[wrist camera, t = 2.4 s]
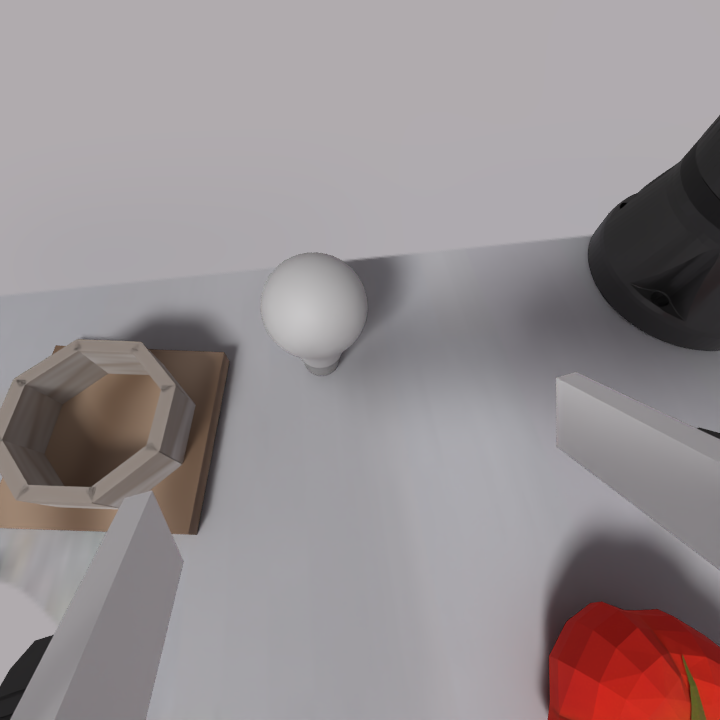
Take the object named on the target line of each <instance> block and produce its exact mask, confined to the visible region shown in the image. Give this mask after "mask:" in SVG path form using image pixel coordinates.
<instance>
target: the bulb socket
mask: <svg viewBox="0 0 720 720" xmlns="http://www.w3.org/2000/svg"><path fill="white" fill-rule="evenodd" d="M228 367H229V360H228V358H227V356H226V355H225V353H224V352H205V351H179V350H154V349H148V348H147V347H146V346H145V345H144V344H143V343H142V342H135V341H110V340H85V339H78V340H75V341H73V342H72V343H70V344H69V345H67V346H55V349H54V351H53V354H52V355H51V356H49V357H48V358H46V359H45V360H43V361H41V362H40V363H38V364H37V365H35V366H33V367H32V368H30V369H29V370H27V371H25V372H24V373H22V374H21V375H19V376H17V377H16V378H14V379H13V382H12V384H11V386H10V388H9V391H8V393H7V395H6V398H5V400H4V402H3V405H2V407H1V409H0V473H1V475H2V477H3V478H2V480H1V483H0V528H14V529H43V530H73V531H102V532H107V531H108V529H109V527H110V525H111V523H112V521H113V519H114V517H115V515H116V513H117V511H118V509H119V507H120V506H121V504H122V502H123V500H124V498H126V497H130V496H133V495H137V494H141V493H144V492H148V491H151V490H152V491H153V493H154V496H155V498H156V500H157V502H158V505H159V507H160V509H161V511H162V514H163V516H164V518H165V520H166V523H167V525H168V527H169V530H170V532H171V534H189V535H197V531H198V525H199V520H200V515H201V510H202V504H203V499H204V494H205V488H206V483H207V478H208V473H209V467H210V462H211V457H212V451H213V446H214V441H215V436H216V430H217V425H218V420H219V414H220V409H221V404H222V398H223V393H224V388H225V383H226V377H227V372H228Z"/></svg>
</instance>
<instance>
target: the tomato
mask: <svg viewBox="0 0 720 720" xmlns="http://www.w3.org/2000/svg"><path fill="white" fill-rule="evenodd" d="M549 676H550V704H549V713H548V720H720V647H719V646H718V645H716V644H715V643H714V642H713V641H711V640H710V639H709V638H707V637H706V636H705V635H703V634H701V633H700V632H698V631H696V630H695V629H693V628H692V627H690V626H688V625H687V624H685V623H683V622H682V621H680V620H679V619H677V618H675V617H674V616H672V615H669V614H667V613H665V612H663V611H660V610H658V609H652V610H623V609H620V608H617V607H615V606H612V605H609V604H607V603H604V602H595V603H590V604H589V605H587V606H586V607H585V608H583V609H582V610H581V611H579V612H578V613H577V614H576V615H574V616H573V617H572V618H570V619H569V620H568V621H566V623H565V625H564V627H563V629H562V631H561V633H560V635H559V637H558V639H557V641H556V643H555V645H554V647H553V649H552V651H551V653H550V655H549Z"/></svg>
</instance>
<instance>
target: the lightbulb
mask: <svg viewBox="0 0 720 720" xmlns="http://www.w3.org/2000/svg"><path fill="white" fill-rule="evenodd" d="M367 312H368V302H367V296H366V292H365V289H364V286H363V284H362V282H361V280H360V279H359V277H358V275H357V274H356V273H355V271H354V270H353V269H352V268H351V267H350V266H348V265H347V264H346V263H344V262H343V261H341V260H340V259H338V258H336V257H334V256H331V255H327V254H323V253H304V254H299V255H296V256H293V257H291V258H289V259H287V260H285V261H284V262H282V263H281V264H280V265H279V266H277V267H276V269H275V270H274V271H273V272H272V273H271V274H270V275H269V277H268V279H267V281H266V282H265V285H264V288H263V292H262V295H261V316H262V321H263V323H264V326H265V328H266V330H267V333H268V334H269V335H270V337H271V338H272V339H273V341H274V342H275V343H276V344H277V345H278V346H280V347H281V348H282V349H283V350H284V351H286V352H288V353H290V354H291V355H294V356H297V357H300V358H301V359H302V361H303V362H304V363H305V365H306V367H307V369H308V370H309V371H310V372H311V373H313V374H315V375H318V376H325V375H328V374H331V373H332V372H333V371H334V370H335V369H336V368H337V366H338V363H339V358H340V356H341V354H342V352H343V351H345V350H346V349H348V348H349V347H350V346H351V345H352V344H353V343H354V342H355V341H356V339H357V338H358V337H359V335H360V333H361V332H362V330H363V327H364V325H365V323H366V318H367Z"/></svg>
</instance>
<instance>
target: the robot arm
mask: <svg viewBox="0 0 720 720" xmlns="http://www.w3.org/2000/svg"><path fill="white" fill-rule="evenodd" d="M588 257H589V265H590V270H591V273H592V276H593V278H594V280H595V282H596V284H597V286H598V288H599V290H600V291H601V293H602V294H603V296H604V297H605V298H606V300H607V301H608V302H609V303H610V304H611V305H612V307H613V308H614V309H615V310H616V311H617V312H618V313H620V314H621V315H622V316H623V317H624V318H625V319H627V320H628V321H629V322H630V323H632V324H633V325H635V326H636V327H638V328H639V329H641V330H642V331H644V332H646V333H648V334H650V335H652V336H654V337H656V338H658V339H660V340H662V341H665V342H668V343H670V344H674V345H677V346H680V347H684V348H689V349H695V350H705V351H716V350H720V116H719V117H718V118H717V119H716V120H715V121H714V123H713V124H712V125H711V126H710V127H709V128H708V129H707V131H706V132H705V133H704V134H703V135H702V137H701V138H700V139H699V140H698V142H697V143H696V144H695V145H694V146H693V147H692V148H691V150H690V151H689V152H688V153H687V154H686V155H685V156H684V158H683V159H682V160H681V161H680V162H679V163H677V164H676V165H675V166H673V167H672V168H670V169H669V170H667V171H666V172H665V173H663V174H661V175H660V176H659V177H657V178H656V179H655V180H653V181H652V182H650V183H649V184H648V185H646V186H645V187H644V188H643V189H641V191H639V192H638V193H636V194H634V195H632V196H630V197H628V198H626V199H625V200H624V201H622V202H621V203H619V204H618V205H617V206H616V207H615V208H614V209H613V210H612V211H611V212H610V213H609V214H608V215H607V217H606V218H605V219H604V220H603V222H602V223H601V224H600V226H599V227H598V228H597V230H596V231H595V233H594V234H593V236H592V239H591V241H590V245H589V253H588ZM556 427H557V447H558V448H559V449H560V450H562V451H563V452H564V453H566V454H567V455H568V456H569V457H571V458H572V459H573V460H575V461H576V462H577V463H579V464H580V465H581V466H583V467H584V468H585V469H587V470H588V471H589V472H591V473H592V474H593V475H595V476H596V477H597V478H599V479H600V480H601V481H603V482H604V483H605V484H606V485H608V486H609V487H610V488H612V489H613V490H614V491H616V492H617V493H618V494H620V495H621V496H622V497H624V498H625V499H626V500H628V501H629V502H630V503H632V504H633V505H634V506H636V507H637V508H638V509H640V510H641V511H642V512H643V513H645V514H646V515H647V516H649V517H650V518H651V519H653V520H654V521H655V522H657V523H658V524H659V525H661V526H662V527H663V528H665V529H666V530H667V531H669V532H670V533H671V534H673V535H674V536H675V537H677V538H678V539H679V540H680V541H682V542H683V543H684V544H686V545H687V546H688V547H690V548H691V549H692V550H694V551H695V552H696V553H698V554H699V555H700V556H702V557H703V558H704V559H706V560H707V561H708V562H710V563H711V564H712V565H714V566H715V567H716V568H717V569H719V570H720V433H717V432H714V431H710V430H706V429H702V428H694V427H692V426H690V425H688V424H686V423H684V422H682V421H680V420H677V419H675V418H673V417H671V416H669V415H667V414H665V413H663V412H660V411H658V410H656V409H654V408H652V407H650V406H648V405H645V404H643V403H641V402H639V401H637V400H635V399H633V398H631V397H628V396H626V395H624V394H622V393H620V392H618V391H616V390H614V389H611V388H609V387H607V386H605V385H603V384H601V383H599V382H596V381H594V380H592V379H590V378H588V377H586V376H584V375H582V374H579V373H577V372H574V373H570V374H567V375H563V376H560V377H556ZM183 562H184V561H183V559H182V557H181V554H180V552H179V550H178V548H177V545H176V543H175V541H174V539H173V536H172V534H171V532H170V530H169V527H168V525H167V523H166V520H165V518H164V516H163V514H162V511H161V509H160V507H159V505H158V502H157V500H156V498H155V496H154V493H153V491H152V490H151V491H148V492H144V493H141V494H137V495H133V496H130V497H126V498H124V500H123V502H122V504H121V506H120V507H119V509H118V511H117V513H116V515H115V517H114V519H113V521H112V523H111V525H110V527H109V529H108V531H107V533H106V535H105V537H104V539H103V540H102V542H101V544H100V546H99V548H98V550H97V552H96V554H95V556H94V558H93V560H92V562H91V564H90V566H89V568H88V570H87V572H86V573H85V575H84V577H83V579H82V581H81V583H80V585H79V587H78V589H77V591H76V593H75V595H74V597H73V599H72V601H71V603H70V605H69V606H68V608H67V610H66V612H65V614H64V616H63V618H62V620H61V622H60V624H59V626H58V628H57V630H56V632H55V634H54V635H52V636H49V637H45V638H42V639H39V640H36V641H34V643H33V644H32V645H31V646H30V647H29V648H28V649H27V651H26V652H25V653H24V654H23V655H22V656H21V657H20V658H19V660H18V661H17V662H16V663H15V664H14V665H13V666H12V668H11V669H10V670H9V672H8V674H7V675H6V677H5V679H4V681H3V682H2V684H1V686H0V720H146V716H147V712H148V708H149V703H150V699H151V695H152V691H153V687H154V683H155V679H156V674H157V670H158V666H159V662H160V658H161V654H162V650H163V645H164V641H165V637H166V633H167V629H168V625H169V620H170V616H171V612H172V608H173V604H174V600H175V596H176V591H177V587H178V583H179V579H180V575H181V571H182V567H183Z"/></svg>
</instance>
